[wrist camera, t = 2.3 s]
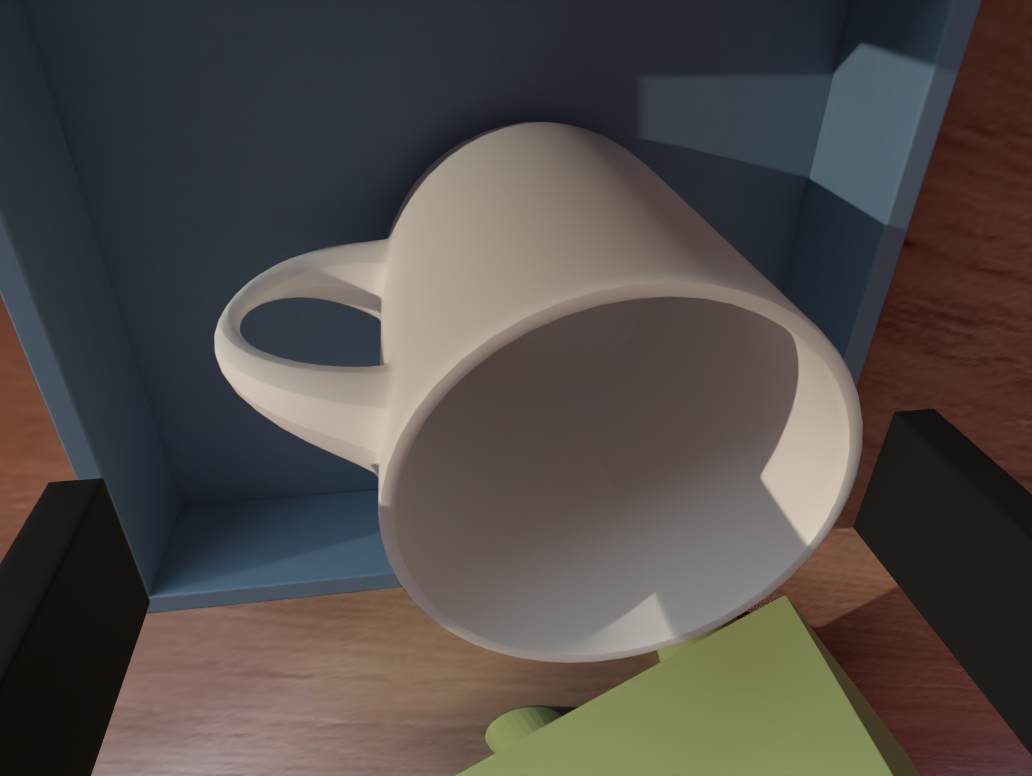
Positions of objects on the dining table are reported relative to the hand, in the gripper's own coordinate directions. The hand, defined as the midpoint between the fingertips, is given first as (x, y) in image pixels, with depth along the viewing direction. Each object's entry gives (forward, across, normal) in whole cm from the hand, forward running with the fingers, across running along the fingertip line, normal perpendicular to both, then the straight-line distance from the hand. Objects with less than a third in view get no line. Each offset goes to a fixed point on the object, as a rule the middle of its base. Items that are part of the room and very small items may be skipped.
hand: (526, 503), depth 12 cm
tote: (+11, 0, 0) cm, 11 cm away
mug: (+11, 0, 0) cm, 11 cm away
